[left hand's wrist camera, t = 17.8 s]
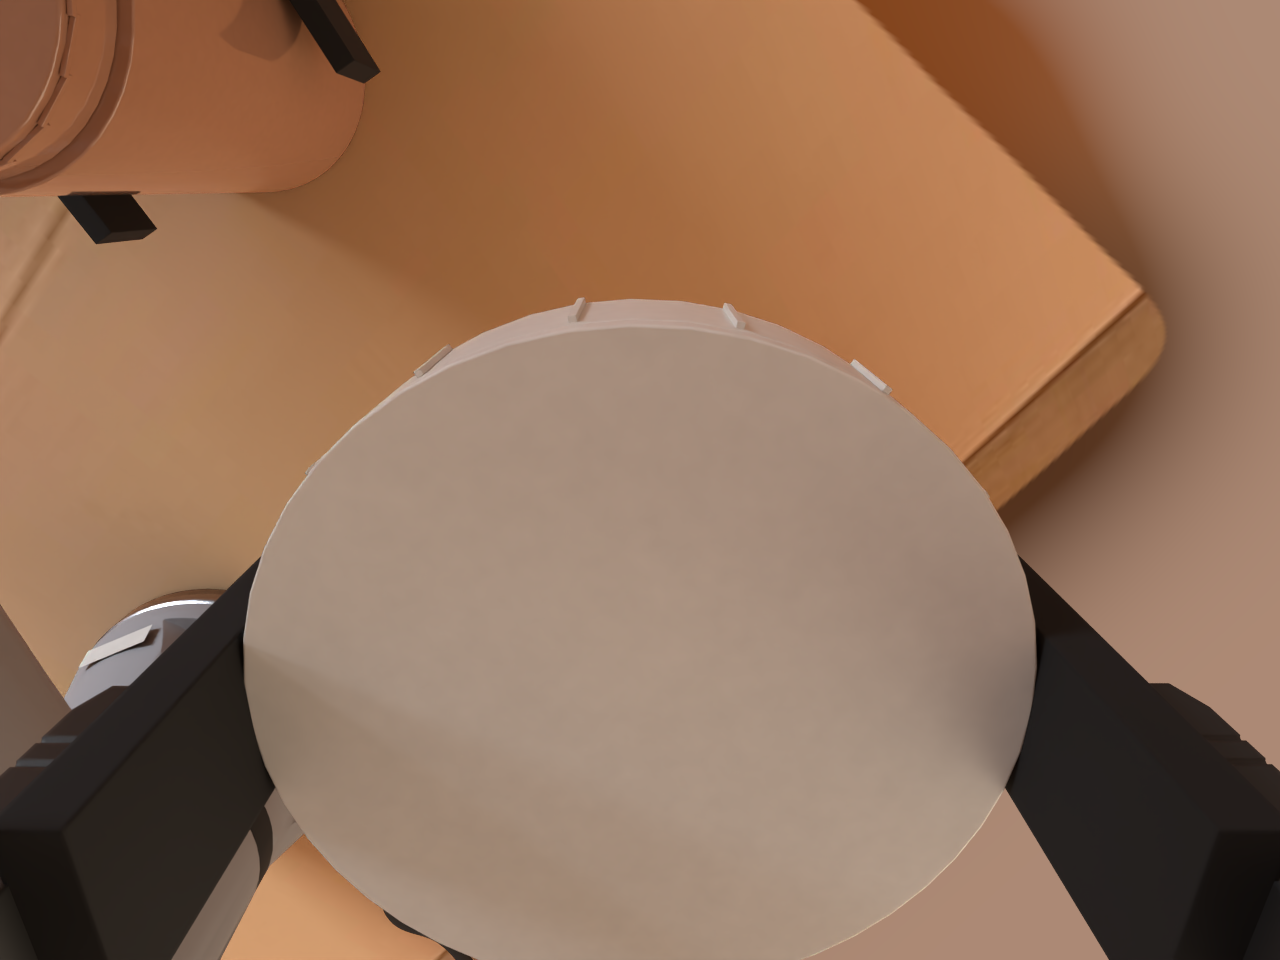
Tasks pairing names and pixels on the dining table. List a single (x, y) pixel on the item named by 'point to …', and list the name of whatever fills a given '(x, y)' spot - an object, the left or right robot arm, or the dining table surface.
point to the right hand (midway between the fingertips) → (239, 157)
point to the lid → (640, 643)
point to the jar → (166, 98)
